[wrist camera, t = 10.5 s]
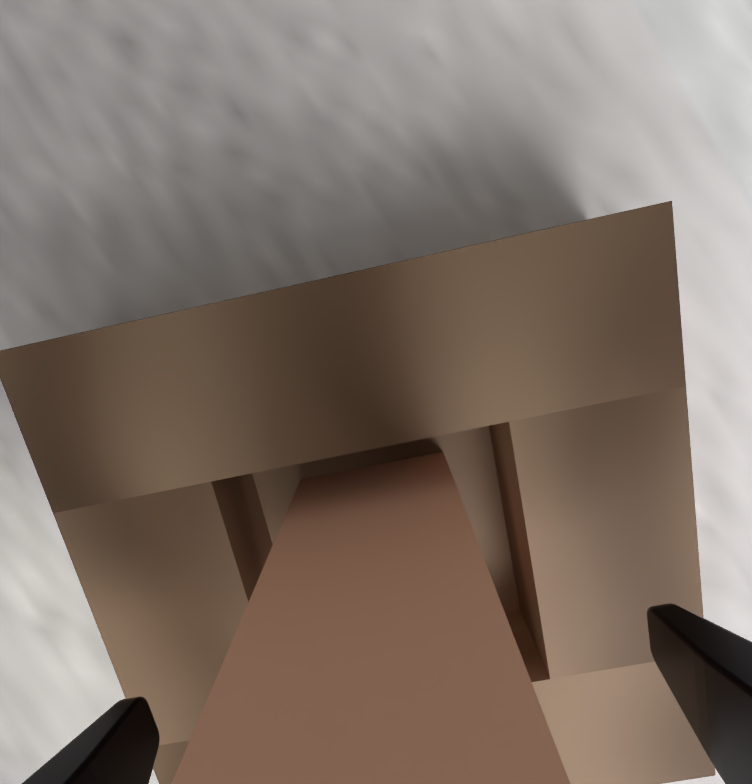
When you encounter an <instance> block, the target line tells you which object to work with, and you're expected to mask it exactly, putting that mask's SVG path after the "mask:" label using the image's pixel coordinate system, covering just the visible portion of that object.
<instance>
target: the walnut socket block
mask: <svg viewBox="0 0 752 784" xmlns="http://www.w3.org/2000/svg"><path fill="white" fill-rule="evenodd" d="M0 379H1V382H2V384H3V387H4V389H5V392H6V394H7V397H8V399H9V402H10V404H11V407H12V410H13V412H14V415H15V417H16V420H17V422H18V425H19V427H20V430H21V433H22V435H23V438H24V440H25V443H26V445H27V448H28V450H29V453H30V455H31V458H32V461H33V463H34V466H35V468H36V471H37V473H38V476H39V478H40V481H41V483H42V486H43V489H44V491H45V494H46V496H47V499H48V501H49V504H50V506H51V509H52V512H53V514H54V517H55V519H56V522H57V524H58V527H59V529H60V532H61V534H62V537H63V540H64V542H65V545H66V547H67V550H68V552H69V555H70V557H71V560H72V562H73V565H74V568H75V570H76V573H77V575H78V578H79V580H80V583H81V585H82V588H83V591H84V593H85V596H86V598H87V601H88V603H89V606H90V608H91V611H92V613H93V616H94V619H95V621H96V624H97V626H98V629H99V631H100V634H101V636H102V639H103V641H104V644H105V647H106V649H107V652H108V654H109V657H110V659H111V662H112V664H113V667H114V670H115V672H116V675H117V677H118V680H119V682H120V685H121V687H122V690H123V692H124V695H125V698H126V699H128V698H133V697H139V696H140V697H144V698H145V699H146V700H147V702H148V704H149V707H150V709H151V712H152V714H153V717H154V720H155V722H156V725H157V727H158V730H159V736H160V741H159V748H158V752H157V755H156V759H155V762H154V766H153V769H154V771H155V774H156V777H157V779H158V782H159V784H172V781H173V779H174V776H175V774H176V772H177V769H178V767H179V765H180V762H181V760H182V758H183V755H184V753H185V751H186V748H187V746H188V744H189V741H190V739H191V736H192V734H193V732H194V729H195V727H196V725H197V722H198V720H199V718H200V715H201V713H202V711H203V708H204V706H205V704H206V701H207V699H208V696H209V694H210V692H211V689H212V687H213V685H214V682H215V680H216V678H217V675H218V673H219V671H220V668H221V666H222V664H223V661H224V659H225V656H226V654H227V652H228V649H229V647H230V645H231V642H232V640H233V638H234V635H235V633H236V631H237V628H238V626H239V624H240V621H241V619H242V616H243V614H244V612H245V609H246V607H247V605H248V602H249V600H250V598H251V595H252V593H253V591H254V588H255V586H256V584H257V581H258V579H259V576H260V574H261V572H262V569H263V567H264V565H265V562H266V560H267V558H268V555H269V553H270V551H271V548H272V546H273V544H274V541H275V539H276V536H277V534H278V532H279V529H280V527H281V525H282V522H283V520H284V518H285V515H286V513H287V511H288V508H289V506H290V504H291V501H292V499H293V496H294V494H295V492H296V489H297V487H298V485H299V482H300V480H301V479H306V478H311V477H316V476H321V475H327V474H332V473H337V472H342V471H347V470H352V469H357V468H363V467H368V466H373V465H378V464H383V463H388V462H394V461H399V460H404V459H409V458H414V457H419V456H424V455H430V454H435V453H440V452H443V453H444V455H445V458H446V460H447V463H448V466H449V468H450V471H451V473H452V476H453V479H454V481H455V484H456V486H457V489H458V492H459V494H460V497H461V500H462V502H463V505H464V507H465V510H466V513H467V515H468V518H469V520H470V523H471V526H472V528H473V531H474V533H475V536H476V539H477V541H478V544H479V547H480V549H481V552H482V554H483V557H484V560H485V562H486V565H487V567H488V570H489V573H490V575H491V578H492V580H493V583H494V586H495V588H496V591H497V594H498V596H499V599H500V601H501V604H502V607H503V609H504V612H505V614H506V617H507V620H508V622H509V625H510V627H511V630H512V633H513V635H514V638H515V640H516V643H517V646H518V648H519V651H520V654H521V656H522V659H523V661H524V664H525V667H526V669H527V672H528V674H529V677H530V680H531V682H532V685H533V687H534V690H535V693H536V695H537V698H538V701H539V703H540V706H541V708H542V711H543V714H544V716H545V719H546V721H547V724H548V727H549V729H550V732H551V734H552V737H553V740H554V742H555V745H556V748H557V750H558V753H559V755H560V758H561V761H562V763H563V766H564V768H565V771H566V774H567V776H568V779H569V781H570V784H662V783H669V782H675V781H682V780H688V779H694V778H701V777H707V776H714V775H715V767H714V765H713V764H712V762H711V761H710V759H709V757H708V755H707V754H706V752H705V750H704V749H703V747H702V745H701V743H700V742H699V740H698V738H697V736H696V734H695V733H694V731H693V729H692V727H691V726H690V724H689V722H688V720H687V718H686V717H685V715H684V713H683V711H682V709H681V708H680V706H679V704H678V702H677V701H676V699H675V697H674V695H673V693H672V692H671V690H670V688H669V686H668V684H667V683H666V681H665V679H664V677H663V675H662V674H661V672H660V670H659V668H658V667H657V665H656V663H655V661H654V658H653V656H652V653H651V649H650V642H649V632H648V623H647V610H648V608H649V607H651V606H656V605H662V604H667V603H672V604H676V605H678V606H680V607H682V608H684V609H686V610H688V611H690V612H692V613H694V614H696V615H698V616H700V617H702V618H703V606H702V593H701V580H700V567H699V553H698V540H697V527H696V514H695V501H694V487H693V474H692V461H691V448H690V435H689V421H688V408H687V395H686V382H685V369H684V355H683V342H682V329H681V316H680V303H679V289H678V276H677V263H676V250H675V237H674V223H673V210H672V201H669V202H665V203H660V204H656V205H651V206H647V207H642V208H638V209H633V210H629V211H624V212H620V213H615V214H611V215H606V216H602V217H597V218H593V219H588V220H584V221H579V222H575V223H571V224H566V225H562V226H557V227H553V228H548V229H544V230H539V231H535V232H530V233H526V234H521V235H517V236H512V237H508V238H503V239H499V240H494V241H490V242H485V243H481V244H476V245H472V246H467V247H463V248H458V249H454V250H449V251H445V252H440V253H436V254H432V255H427V256H423V257H418V258H414V259H409V260H405V261H400V262H396V263H391V264H387V265H382V266H378V267H373V268H369V269H364V270H360V271H355V272H351V273H346V274H342V275H337V276H333V277H328V278H324V279H319V280H315V281H310V282H306V283H302V284H297V285H293V286H288V287H284V288H279V289H275V290H270V291H266V292H261V293H257V294H252V295H248V296H243V297H239V298H234V299H230V300H225V301H221V302H216V303H212V304H207V305H203V306H198V307H194V308H189V309H185V310H180V311H176V312H171V313H167V314H163V315H158V316H154V317H149V318H145V319H140V320H136V321H131V322H127V323H122V324H118V325H113V326H109V327H104V328H100V329H95V330H91V331H86V332H82V333H77V334H73V335H68V336H64V337H59V338H55V339H50V340H46V341H41V342H37V343H33V344H28V345H24V346H19V347H15V348H10V349H6V350H1V351H0Z"/></svg>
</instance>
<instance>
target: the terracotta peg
mask: <svg viewBox="0 0 752 784" xmlns="http://www.w3.org/2000/svg"><path fill="white" fill-rule="evenodd" d="M172 784H570V781H569V779H568V776H567V774H566V771H565V768H564V766H563V763H562V761H561V758H560V755H559V753H558V750H557V748H556V745H555V742H554V740H553V737H552V734H551V732H550V729H549V727H548V724H547V721H546V719H545V716H544V714H543V711H542V708H541V706H540V703H539V701H538V698H537V695H536V693H535V690H534V687H533V685H532V682H531V680H530V677H529V674H528V672H527V669H526V667H525V664H524V661H523V659H522V656H521V654H520V651H519V648H518V646H517V643H516V640H515V638H514V635H513V633H512V630H511V627H510V625H509V622H508V620H507V617H506V614H505V612H504V609H503V607H502V604H501V601H500V599H499V596H498V594H497V591H496V588H495V586H494V583H493V580H492V578H491V575H490V573H489V570H488V567H487V565H486V562H485V560H484V557H483V554H482V552H481V549H480V547H479V544H478V541H477V539H476V536H475V533H474V531H473V528H472V526H471V523H470V520H469V518H468V515H467V513H466V510H465V507H464V505H463V502H462V500H461V497H460V494H459V492H458V489H457V486H456V484H455V481H454V479H453V476H452V473H451V471H450V468H449V466H448V463H447V460H446V458H445V455H444V453H443V452H440V453H435V454H430V455H424V456H419V457H414V458H409V459H404V460H399V461H394V462H388V463H383V464H378V465H373V466H368V467H363V468H357V469H352V470H347V471H342V472H337V473H332V474H327V475H321V476H316V477H311V478H306V479H301V480H300V482H299V485H298V487H297V489H296V492H295V494H294V496H293V499H292V501H291V504H290V506H289V508H288V511H287V513H286V515H285V518H284V520H283V522H282V525H281V527H280V529H279V532H278V534H277V536H276V539H275V541H274V544H273V546H272V548H271V551H270V553H269V555H268V558H267V560H266V562H265V565H264V567H263V569H262V572H261V574H260V576H259V579H258V581H257V584H256V586H255V588H254V591H253V593H252V595H251V598H250V600H249V602H248V605H247V607H246V609H245V612H244V614H243V616H242V619H241V621H240V624H239V626H238V628H237V631H236V633H235V635H234V638H233V640H232V642H231V645H230V647H229V649H228V652H227V654H226V656H225V659H224V661H223V664H222V666H221V668H220V671H219V673H218V675H217V678H216V680H215V682H214V685H213V687H212V689H211V692H210V694H209V696H208V699H207V701H206V704H205V706H204V708H203V711H202V713H201V715H200V718H199V720H198V722H197V725H196V727H195V729H194V732H193V734H192V736H191V739H190V741H189V744H188V746H187V748H186V751H185V753H184V755H183V758H182V760H181V762H180V765H179V767H178V769H177V772H176V774H175V776H174V779H173V781H172Z"/></svg>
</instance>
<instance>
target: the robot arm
mask: <svg viewBox="0 0 752 784" xmlns="http://www.w3.org/2000/svg"><path fill="white" fill-rule="evenodd" d="M647 623H648V632H649V642H650V649H651V653H652V656H653V658H654V661H655V663H656V665H657V667H658V668H659V670H660V672H661V674H662V675H663V677H664V679H665V681H666V683H667V684H668V686H669V688H670V690H671V692H672V693H673V695H674V697H675V699H676V701H677V702H678V704H679V706H680V708H681V709H682V711H683V713H684V715H685V717H686V718H687V720H688V722H689V724H690V726H691V727H692V729H693V731H694V733H695V734H696V736H697V738H698V740H699V742H700V743H701V745H702V747H703V749H704V750H705V752H706V754H707V755H708V757H709V759H710V761H711V762H712V764H713V765H714V767H715V768H716V770H717V772H718V773H719V775H720V776H721V778H722V779H723V781H724V782H725V784H752V642H751V641H748V640H746V639H744V638H742V637H740V636H738V635H736V634H734V633H732V632H730V631H728V630H726V629H724V628H722V627H720V626H718V625H716V624H714V623H712V622H710V621H708V620H706V619H704V618H702V617H700V616H698V615H696V614H694V613H692V612H690V611H688V610H686V609H684V608H682V607H680V606H678V605H676V604H672V603H667V604H662V605H656V606H651V607H649V608H648V610H647ZM159 741H160V736H159V730H158V727H157V725H156V722H155V720H154V717H153V714H152V712H151V709H150V707H149V704H148V702H147V700H146V699H145V698H144V697H140V696H139V697H133V698H128V699H123V700H120V701H119V702H117V703H116V704H115V705H114V706H112V707H111V708H110V709H109V710H108V711H107V712H105V713H104V714H103V715H102V716H101V717H99V718H98V719H97V720H96V721H95V722H94V723H92V724H91V725H90V726H89V727H88V728H87V729H85V730H84V731H83V732H82V733H81V734H80V735H78V736H77V737H76V738H75V739H74V740H72V741H71V742H70V743H69V744H68V745H67V746H65V747H64V748H63V749H62V750H61V751H60V752H58V753H57V754H56V755H55V756H54V757H53V758H51V759H50V760H49V761H48V762H47V763H46V764H44V765H43V766H42V767H41V768H40V769H38V770H37V771H36V772H35V773H34V774H33V775H31V776H30V777H29V778H28V779H27V780H26V781H24V782H23V783H22V784H148V783H149V780H150V776H151V773H152V769H153V766H154V762H155V759H156V755H157V752H158V748H159Z"/></svg>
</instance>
